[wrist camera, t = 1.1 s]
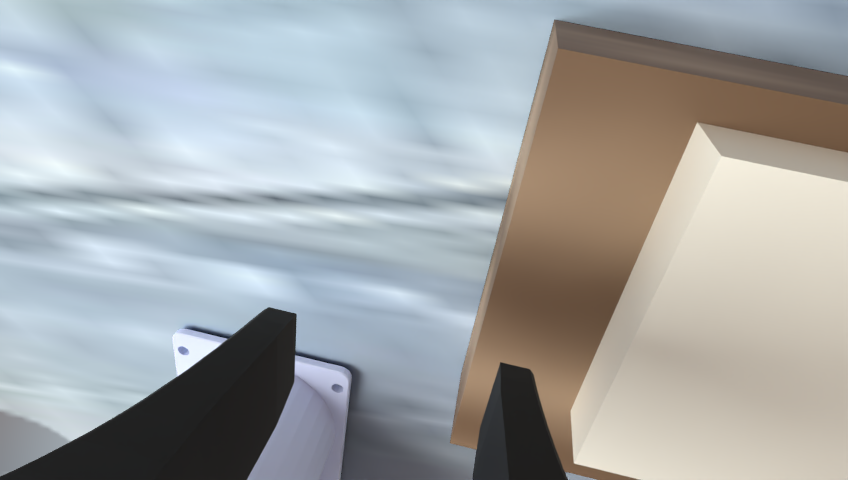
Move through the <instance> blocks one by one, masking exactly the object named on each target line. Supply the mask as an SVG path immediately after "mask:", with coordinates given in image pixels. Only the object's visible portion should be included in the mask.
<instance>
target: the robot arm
mask: <svg viewBox="0 0 848 480" xmlns="http://www.w3.org/2000/svg"><path fill="white" fill-rule="evenodd" d="M172 341H173V348H174V356H175V363H176V371H177V377H176V378H174V379H173V380H171V381H170V382H168V383H167V384H165V385H164V386H163V387H161V388H160V389H158V390H157V391H155V392H154V393H152V394H151V395H149V396H148V397H146V398H145V399H143V400H142V401H140V402H138V403H137V404H135V405H134V406H132V407H130V408H129V409H127V410H126V411H124V412H122V413H121V414H119V415H117V416H116V417H114V418H112V419H111V420H109V421H107V422H105V423H104V424H102V425H100V426H99V427H97V428H95V429H93V430H92V431H90V432H88V433H86V434H84V435H83V436H81V437H79V438H77V439H75V440H73V441H71V442H69V443H67V444H66V445H64V446H62V447H60V448H58V449H56V450H54V451H52V452H50V453H48V454H47V455H45V456H43V457H41V458H39V459H37V460H35V461H33V462H31V463H28V464H26V465H24V466H22V467H20V468H18V469H16V470H14V471H12V472H9V473H7V474H5V475H3V476H0V480H340V479H341V470H342V461H343V452H344V443H345V434H346V425H347V416H348V407H349V398H350V389H351V380H352V376H351V373H350V371H349V370H347V369H346V368H344V367H342V366H338V365H334V364H330V363H325V362H321V361H317V360H313V359H309V358H305V357H301V356H297V355H295V346H296V314H295V313H291V312H286V311H282V310H278V309H274V308H267V309H265V310H263V311H262V312H261V313H260V314H258V315H257V316H256V317H255V318H253V319H252V320H251V321H250V322H249V323H247V324H246V325H245V326H244V327H242V328H241V329H240V330H239V331H237V332H236V333H235V334H234V335H232V336H231V337H230V338H228V339H226V338H222V337H218V336H214V335H210V334H206V333H201V332H197V331H193V330H189V329H178V331H177V332H176V333H175V334H174V335H173V338H172ZM337 384H338V385H337ZM339 385H341V386H339ZM473 480H568V479H567V477H566V474H565V472H564V469H563V466H562V464H561V461H560V458H559V456H558V453H557V450H556V448H555V445H554V442H553V439H552V436H551V434H550V431H549V428H548V424H547V421H546V418H545V415H544V412H543V408H542V405H541V402H540V398H539V394H538V391H537V387H536V382H535V378H534V374H533V373H532V371H531V370H530V369H527V368H523V367H519V366H515V365H510V364H506V363H502V362H500V365H499V368H498V371H497V375H496V378H495V381H494V384H493V387H492V391H491V394H490V397H489V400H488V403H487V407H486V410H485V413H484V416H483V419H482V423H481V426H480V430H479V437H478V444H477V450H476V457H475V464H474V471H473Z"/></svg>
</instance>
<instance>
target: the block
mask: <svg viewBox="0 0 848 480" xmlns="http://www.w3.org/2000/svg"><path fill="white" fill-rule="evenodd" d="M570 412H571V428H572V444H573V460H574V464H578V465H582V466H587V467H591V468H595V469H599V470H603V471H607V472H611V473H615V474H619V475H623V476H627V477H631V478H635V479H639V480H848V153H847V152H842V151H837V150H832V149H827V148H822V147H817V146H812V145H808V144H803V143H798V142H793V141H788V140H783V139H778V138H773V137H768V136H763V135H758V134H753V133H748V132H743V131H738V130H733V129H728V128H723V127H718V126H713V125H708V124H703V123H698V122H697V124H696V126H695V128H694V131H693V133H692V135H691V138H690V140H689V142H688V144H687V147H686V149H685V151H684V154H683V156H682V158H681V160H680V163H679V165H678V167H677V169H676V172H675V174H674V176H673V179H672V181H671V183H670V185H669V188H668V190H667V192H666V195H665V197H664V199H663V201H662V204H661V206H660V208H659V211H658V213H657V215H656V217H655V220H654V222H653V224H652V226H651V229H650V231H649V233H648V236H647V238H646V240H645V242H644V245H643V247H642V249H641V252H640V254H639V256H638V258H637V261H636V263H635V265H634V267H633V270H632V272H631V274H630V277H629V279H628V281H627V283H626V286H625V288H624V290H623V293H622V295H621V297H620V299H619V302H618V304H617V306H616V308H615V311H614V313H613V315H612V318H611V320H610V322H609V324H608V327H607V329H606V331H605V334H604V336H603V338H602V340H601V343H600V345H599V347H598V349H597V352H596V354H595V356H594V359H593V361H592V363H591V365H590V368H589V370H588V372H587V375H586V377H585V379H584V381H583V384H582V386H581V388H580V390H579V393H578V395H577V397H576V400H575V402H574V404H573V406H572V409H571V411H570Z"/></svg>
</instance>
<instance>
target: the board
mask: <svg viewBox="0 0 848 480" xmlns="http://www.w3.org/2000/svg"><path fill="white" fill-rule="evenodd" d="M697 122H698V123H703V124H708V125H713V126H718V127H723V128H728V129H733V130H738V131H743V132H748V133H753V134H758V135H763V136H768V137H773V138H778V139H783V140H788V141H793V142H798V143H803V144H808V145H812V146H817V147H822V148H827V149H832V150H837V151H842V152H847V153H848V76H844V75H838V74H833V73H828V72H823V71H818V70H812V69H807V68H802V67H797V66H792V65H787V64H781V63H776V62H771V61H766V60H761V59H755V58H750V57H745V56H740V55H735V54H729V53H724V52H719V51H714V50H709V49H703V48H698V47H693V46H688V45H683V44H678V43H672V42H667V41H662V40H657V39H652V38H646V37H641V36H636V35H631V34H626V33H620V32H615V31H610V30H605V29H600V28H594V27H589V26H584V25H579V24H574V23H569V22H563V21H558V20H554V23H553V27H552V31H551V35H550V38H549V42H548V46H547V50H546V54H545V57H544V61H543V65H542V69H541V73H540V76H539V80H538V84H537V88H536V92H535V95H534V99H533V103H532V107H531V111H530V114H529V118H528V122H527V126H526V130H525V133H524V137H523V141H522V145H521V149H520V152H519V156H518V160H517V164H516V167H515V171H514V175H513V179H512V183H511V186H510V190H509V194H508V198H507V202H506V205H505V209H504V213H503V217H502V221H501V224H500V228H499V232H498V236H497V240H496V243H495V247H494V251H493V255H492V259H491V262H490V266H489V270H488V274H487V278H486V281H485V285H484V289H483V293H482V297H481V300H480V304H479V308H478V312H477V316H476V319H475V323H474V327H473V331H472V335H471V338H470V342H469V346H468V350H467V354H466V357H465V361H464V365H463V369H462V373H461V378H460V384H459V390H458V397H457V403H456V409H455V415H454V421H453V427H452V433H451V440H450V443H452V444H456V445H460V446H464V447H468V448H472V449H476V450H477V444H478V437H479V430H480V426H481V423H482V419H483V416H484V413H485V410H486V407H487V403H488V400H489V397H490V394H491V391H492V387H493V384H494V381H495V378H496V375H497V371H498V368H499V365H500V362H502V363H506V364H510V365H515V366H519V367H523V368H527V369H530V370H531V371H532V373H533V374H534V378H535V382H536V387H537V391H538V394H539V398H540V402H541V405H542V408H543V412H544V415H545V418H546V421H547V424H548V428H549V431H550V434H551V436H552V439H553V442H554V445H555V448H556V450H557V453H558V456H559V458H560V461H561V464H562V466H563V469H564V471H565V472H569V473H573V474H577V475H581V476H585V477H589V478H593V479H597V480H639V479H635V478H631V477H627V476H623V475H619V474H615V473H611V472H607V471H603V470H599V469H595V468H591V467H587V466H582V465H578V464H574V460H573V444H572V428H571V412H570V411H571V409H572V406H573V404H574V402H575V400H576V397H577V395H578V393H579V390H580V388H581V386H582V384H583V381H584V379H585V377H586V375H587V372H588V370H589V368H590V365H591V363H592V361H593V359H594V356H595V354H596V352H597V349H598V347H599V345H600V343H601V340H602V338H603V336H604V334H605V331H606V329H607V327H608V324H609V322H610V320H611V318H612V315H613V313H614V311H615V308H616V306H617V304H618V302H619V299H620V297H621V295H622V293H623V290H624V288H625V286H626V283H627V281H628V279H629V277H630V274H631V272H632V270H633V267H634V265H635V263H636V261H637V258H638V256H639V254H640V252H641V249H642V247H643V245H644V242H645V240H646V238H647V236H648V233H649V231H650V229H651V226H652V224H653V222H654V220H655V217H656V215H657V213H658V211H659V208H660V206H661V204H662V201H663V199H664V197H665V195H666V192H667V190H668V188H669V185H670V183H671V181H672V179H673V176H674V174H675V172H676V169H677V167H678V165H679V163H680V160H681V158H682V156H683V154H684V151H685V149H686V147H687V144H688V142H689V140H690V138H691V135H692V133H693V131H694V128H695V126H696V124H697Z"/></svg>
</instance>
